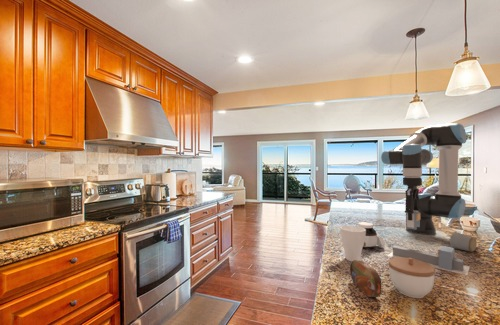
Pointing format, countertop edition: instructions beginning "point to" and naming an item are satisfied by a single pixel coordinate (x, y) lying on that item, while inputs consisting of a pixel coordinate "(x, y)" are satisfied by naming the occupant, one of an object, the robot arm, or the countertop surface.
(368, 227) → the spread jar
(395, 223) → the countertop surface
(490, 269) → the countertop surface
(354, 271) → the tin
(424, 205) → the robot arm
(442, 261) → the fitted finger
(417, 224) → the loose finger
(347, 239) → the cup
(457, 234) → the grey cylinder
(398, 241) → the countertop surface
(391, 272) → the lidded bowl
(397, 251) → the rail board
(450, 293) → the countertop surface
